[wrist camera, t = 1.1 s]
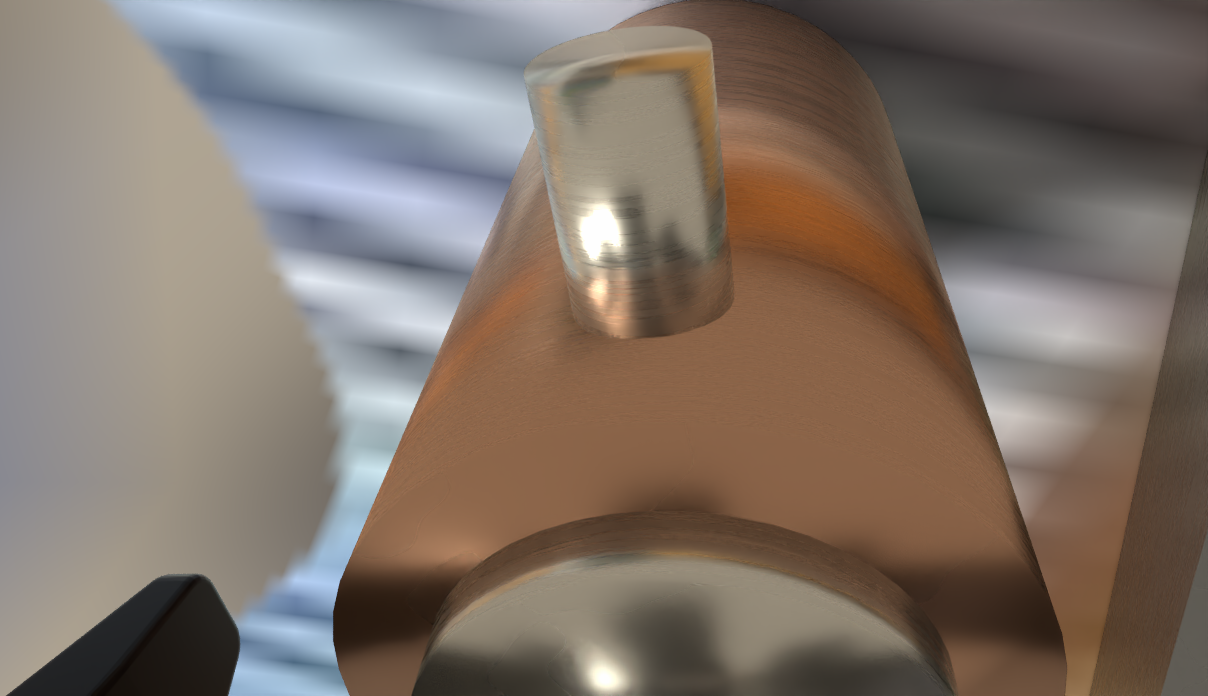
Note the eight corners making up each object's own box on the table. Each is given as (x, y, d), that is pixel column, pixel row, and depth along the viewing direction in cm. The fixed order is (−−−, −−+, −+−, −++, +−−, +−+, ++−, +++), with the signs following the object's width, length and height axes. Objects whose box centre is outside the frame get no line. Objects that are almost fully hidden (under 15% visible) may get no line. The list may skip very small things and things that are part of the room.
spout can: (892, 319, 16) (1046, 963, 8) (565, 341, 17) (418, 931, 9) (901, -175, 12) (1235, 152, 4) (468, -109, 13) (40, 259, 5)
